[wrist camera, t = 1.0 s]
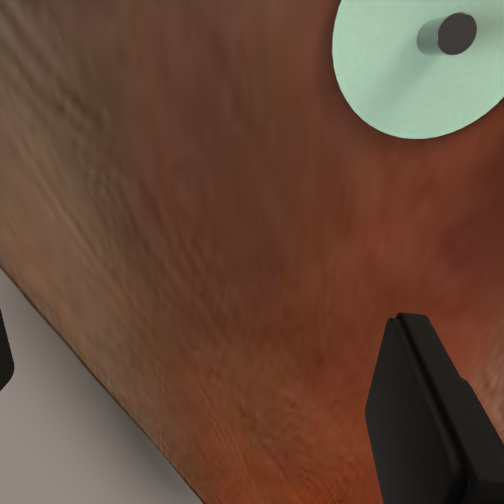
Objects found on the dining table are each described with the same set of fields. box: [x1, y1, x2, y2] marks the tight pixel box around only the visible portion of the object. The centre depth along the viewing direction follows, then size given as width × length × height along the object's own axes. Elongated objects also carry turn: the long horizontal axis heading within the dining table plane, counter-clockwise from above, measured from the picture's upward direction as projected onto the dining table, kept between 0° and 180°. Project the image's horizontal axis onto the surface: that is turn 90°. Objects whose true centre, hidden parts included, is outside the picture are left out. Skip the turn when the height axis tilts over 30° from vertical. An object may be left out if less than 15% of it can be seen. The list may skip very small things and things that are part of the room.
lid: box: [332, 0, 504, 139], centre depth 30 cm, size 16×16×6 cm
